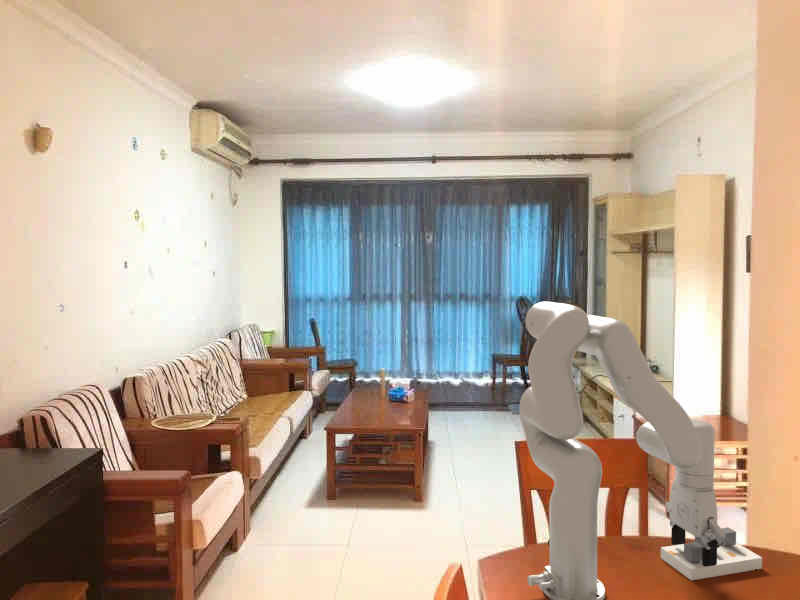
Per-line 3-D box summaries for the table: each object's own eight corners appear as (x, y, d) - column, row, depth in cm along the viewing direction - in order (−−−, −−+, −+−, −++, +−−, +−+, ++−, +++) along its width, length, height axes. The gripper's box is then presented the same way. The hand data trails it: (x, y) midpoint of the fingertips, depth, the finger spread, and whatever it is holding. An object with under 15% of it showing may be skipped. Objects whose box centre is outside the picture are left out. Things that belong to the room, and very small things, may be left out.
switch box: (691, 580, 129) (691, 568, 129) (660, 557, 138) (660, 546, 138) (761, 568, 133) (762, 557, 133) (727, 547, 143) (727, 536, 142)
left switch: (691, 562, 131) (691, 548, 130) (683, 556, 133) (684, 543, 133) (703, 560, 131) (703, 546, 131) (695, 555, 134) (695, 541, 133)
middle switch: (702, 549, 136) (702, 536, 136) (694, 544, 138) (694, 532, 138) (713, 548, 137) (713, 535, 136) (705, 543, 139) (706, 530, 139)
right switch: (724, 546, 137) (724, 533, 137) (716, 541, 140) (717, 529, 139) (735, 544, 138) (736, 531, 138) (727, 539, 140) (728, 527, 140)
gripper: (653, 466, 139) (653, 538, 140) (708, 495, 122) (706, 577, 123) (682, 463, 140) (681, 534, 141) (739, 491, 123) (738, 572, 125)
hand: (693, 554), depth 132 cm, fingers open, 9 cm apart
